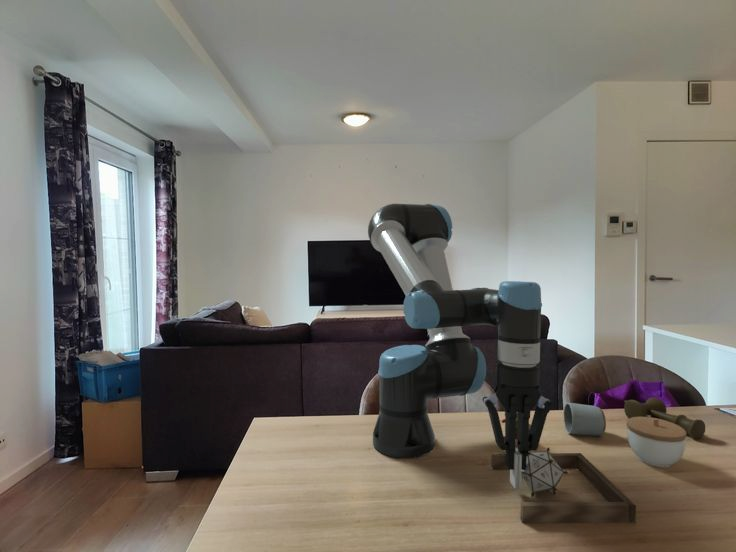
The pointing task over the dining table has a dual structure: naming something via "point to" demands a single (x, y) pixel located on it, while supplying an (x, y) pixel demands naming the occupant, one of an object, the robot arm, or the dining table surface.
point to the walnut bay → (577, 512)
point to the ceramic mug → (584, 419)
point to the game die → (542, 472)
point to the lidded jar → (656, 440)
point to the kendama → (664, 415)
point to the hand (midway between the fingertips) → (515, 485)
